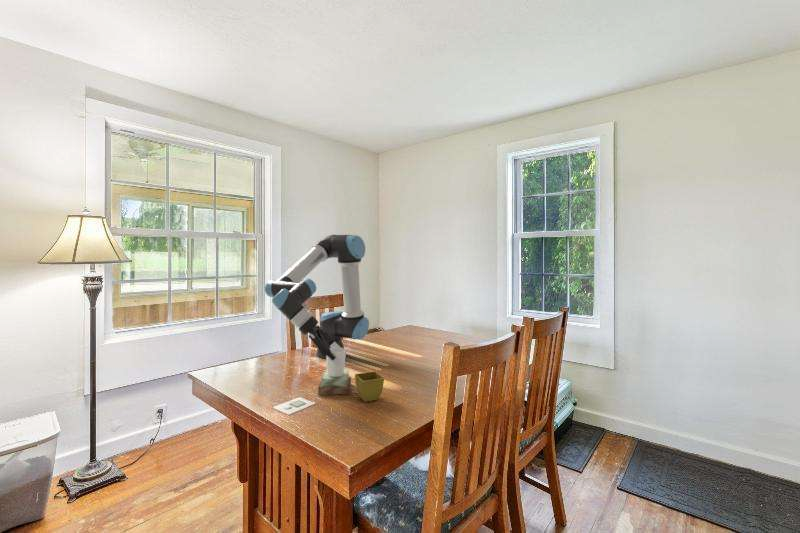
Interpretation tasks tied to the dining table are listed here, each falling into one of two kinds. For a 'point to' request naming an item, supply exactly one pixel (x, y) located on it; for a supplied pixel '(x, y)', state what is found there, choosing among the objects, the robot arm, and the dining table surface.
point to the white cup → (331, 367)
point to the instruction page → (293, 405)
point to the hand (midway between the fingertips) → (341, 359)
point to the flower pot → (369, 385)
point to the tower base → (334, 389)
